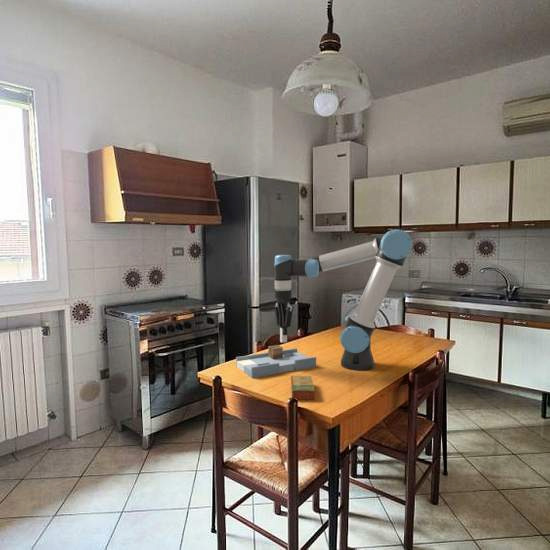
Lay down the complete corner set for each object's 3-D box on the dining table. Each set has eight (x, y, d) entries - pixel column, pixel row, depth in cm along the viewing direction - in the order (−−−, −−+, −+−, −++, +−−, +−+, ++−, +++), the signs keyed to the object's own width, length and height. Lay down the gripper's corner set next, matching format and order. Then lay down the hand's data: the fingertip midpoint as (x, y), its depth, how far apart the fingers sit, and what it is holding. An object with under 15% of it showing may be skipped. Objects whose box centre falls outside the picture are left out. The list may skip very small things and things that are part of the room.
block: (282, 358, 186) (282, 347, 186) (273, 359, 184) (273, 348, 184) (277, 355, 191) (277, 345, 190) (268, 356, 189) (268, 346, 188)
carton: (311, 385, 160) (311, 375, 159) (315, 401, 144) (315, 390, 143) (290, 385, 160) (290, 375, 159) (292, 401, 144) (292, 389, 143)
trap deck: (316, 366, 182) (316, 357, 182) (252, 378, 168) (252, 367, 167) (296, 357, 198) (296, 348, 198) (236, 366, 183) (236, 357, 183)
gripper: (298, 290, 174) (298, 343, 176) (282, 287, 185) (282, 337, 187) (284, 291, 170) (284, 346, 172) (268, 288, 181) (268, 340, 183)
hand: (283, 341), depth 179 cm, fingers closed
